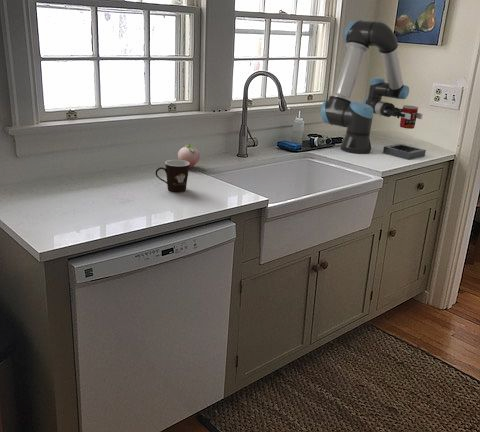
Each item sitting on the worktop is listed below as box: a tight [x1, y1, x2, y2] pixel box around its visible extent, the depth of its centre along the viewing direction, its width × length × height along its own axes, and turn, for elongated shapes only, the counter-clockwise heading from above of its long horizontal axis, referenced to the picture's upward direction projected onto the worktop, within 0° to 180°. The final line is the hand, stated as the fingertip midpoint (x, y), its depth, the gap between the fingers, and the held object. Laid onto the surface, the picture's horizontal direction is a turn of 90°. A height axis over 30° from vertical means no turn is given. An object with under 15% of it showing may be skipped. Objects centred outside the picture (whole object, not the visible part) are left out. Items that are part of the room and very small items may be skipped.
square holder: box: [382, 143, 427, 161], centre depth 265 cm, size 15×15×3 cm
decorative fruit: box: [177, 143, 201, 169], centre depth 215 cm, size 9×8×10 cm
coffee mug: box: [155, 159, 190, 194], centre depth 187 cm, size 12×9×10 cm
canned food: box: [399, 105, 419, 130], centre depth 277 cm, size 8×8×11 cm
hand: (415, 116), depth 273 cm, fingers closed on canned food, 8 cm apart
